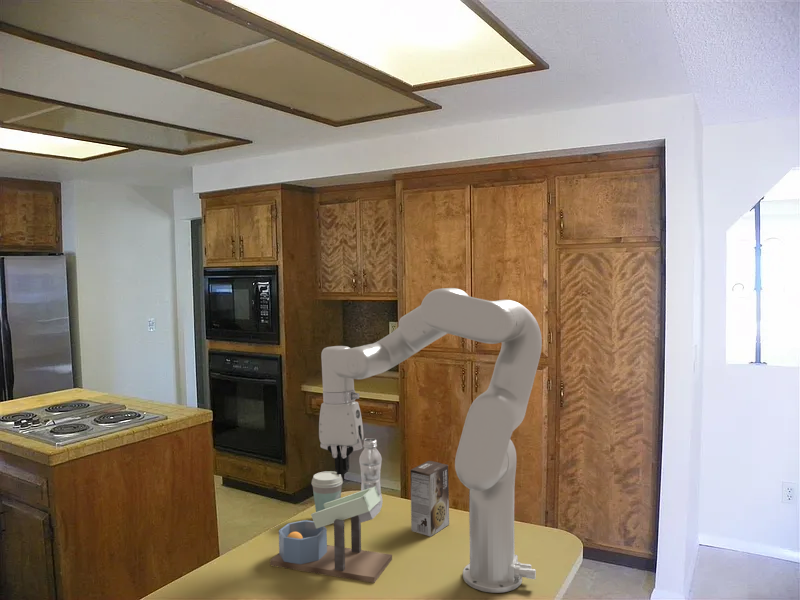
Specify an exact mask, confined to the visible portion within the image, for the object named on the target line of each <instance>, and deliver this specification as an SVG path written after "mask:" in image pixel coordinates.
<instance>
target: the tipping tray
mask: <svg viewBox="0 0 800 600" xmlns="http://www.w3.org/2000/svg"><path fill="white" fill-rule="evenodd" d="M380 500H381V499H380V496H379V494H378V491H377V489H376V486H374V487H372V488H369V489H366V490H363V491H361V490H360V491H358V492H355V493H354V492H353V493H352V494H348V495H346V496H343V497H342V496H341V498H339V499H336V500H333V501H330V502H327V503H325V504H323V505H324V507H325V509H324V510H321V511H318V512H316V511H315V512H312V513H311V514H310V515H311V519H312V521H314V524H315V527H316V529H317V528H320V527H323V526H325V527H326V526H329V525H332V524H334V521H335V520H336V519H338V520H344V521H345V520H347V519H351V517H354V516H357V515H358V517H359V519H360V522H361V523H364V522H368V521H370V520H373V519H374V518H376V516H377V515H378V514H379V513H380V512H382V510H381V509H380V507H379V505H378V502H379V501H380Z"/></svg>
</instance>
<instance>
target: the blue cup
mask: <svg viewBox="0 0 800 600" xmlns="http://www.w3.org/2000/svg"><path fill="white" fill-rule="evenodd" d="M327 531H328V529H327V527H326V526H323V527H320V528H317V529H316V527H315V524H314V521H313V520H309V519H308V520H307V519H306V520H304V519H303V520H299V521H294V522H288V523H287V524H286V525H284V526H283V527H281V528H280V529H279V530H278V553H279V554H280V556H281V558H282V559H283V561H284V562H289V563H295V564H304V563H309V562H313V561H318V560H319V559H321V558H322V557H323V556H324V555H325V554H326V553H327V545H328V537H327V536H328V534H327V533H328V532H327ZM291 532H299V533H300V534H301V535H302V537H303V538H302V539H298V538H291V537H287V536H288V535H289V534H290V533H291Z"/></svg>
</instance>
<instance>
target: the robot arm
mask: <svg viewBox="0 0 800 600" xmlns="http://www.w3.org/2000/svg"><path fill="white" fill-rule="evenodd" d="M447 334H448V335H452V336H457V337H460V338H464V339H468V340H470V341H471V340H472V341H474V342H479V343H483V344H490V345H493V344H494V345H495V344H500V343H501V346H500V347H501V348H500V351H499V353H498V356H497V359H496V360H495V364H494V369H493V372H492V376H491V378H490V382H489V384H488V387H487V389H486V390H485V391H484V392H482V393H481V394H479V395H478V396H477V397H476V398H475V399H474V400H473V401H472V403H471V404H470V407H469V408H468V411H467V414H466V417H465V420H464V423H463V424H464V425H463V428H462V432H461V435H460V439H459V442H458V447H457V450H456V453H455V460H454V470H455V473H456V476H457V478H458V479H459V481H460V483H462V485H463V486H464V487H466V488H467V489H469V496H468V497H469V499H468V500H469V503H468V505H469V507H468V508H469V511H468V512H469V513H468V515H469V517H468V518H469V519H468V521H469V563H468V564H467V565H465V567H463V570H462V579H463V580H464V582H465V583H466V584H467V585H468V586H469V587H471V588H473V589H474V590H477V591H480V592H484V593H492V594H493V593H494V594H498V593H507V592H510V591H514V590H515V589H517V588H519V587H520V586H521V584H522V582H523V578H526V579H530V580H536V576H537V570H536V569H535V568H532V564H530V563H521V561H518V560H519V559H518V555H517V554H515V487H516V486H515V483H516V474H517V471H516V470H517V462H518V461H517V450H516V447H515V444H514V442H513V440H511V437H512V435H513V432H514V431H515V430H516V429H517V428H518V427H519V426H520V425H521V424H522V422H523V420H524V419H525V417H526V412H527V408H528V405H529V400H530V397H531V394H532V389H533V386H534V382H535V379H536V373H537V369H538V366H539V363H540V358H541V353H542V346H543V341H542V340H543V338H542V331H541V329H540V325H539V323H538V321H537V319H536V317H535V315H534V314H532V312H531V311H530V310H529V309H528V308H526V306H524V305H523V304H521V303H519V302H517V301H515V300H512V299H499V300H488V299H483V298H477V297H474V296H473V297H472V296H470V295H468V293H467V292H466V291H464V290H462V289H460V288H457V287H446V288H445V287H444V288H443V287H442V288H436V289H433V290H431V291H430V292H429V293H427V294H426V295H425V296H424V297H423V299H422V301H421V304H420V305H418V306H417V307H416V308H414V309H412V310H411V311H409V312H408V313H406V314H405V315H403V316H401V317H400V318H399V321H398V327H397V328H395V329H394V330H393V331H392V332H391V333H389V334H387V335H386V336H384V337H382V338H381V339H379V340H378V341H375V342H373V343H368V344H364V345H361V346H355V347H349V346H346V345H334V346H327V347H324V348H323V349H322V351H321V355H320V358H321V376H322V397H323V399H322V401H323V402H322V403H320V404H321V405H320V410H319V421H318V438H319V442H320V445H319V446H320V448H321V449H323V450H326V451H329V453H331V457H332V458H334V468H335V470H336V471H335V472H337V475H339V474H341V476H343V475H346V473H348V472H349V469H350V460H349V459H350V456H351V454H352V453H353V452H356V451H360V450H362V449H363V448H364V445H363V443H362V441H364V426H363V419H362V417H363V416H362V412H361V408H360V405H359V404H360V403H359V402H358V401H356V400H358V399H360V393H359V392H356V389H355V380H364V379H368V378H371V377H373V376H376V375H377V376H378V375H380V374H383V373H385V372H387V371H389V370H390V369H392V368H394V367H396V366H397V365H399V364H401V363H402V362H405V360H408V359H409V358H411V357H412V356H414V355H415V354H417V353H418V352H420V351H421V350H423V349H424V348H426V347H427V346H429V345H431V344H432V343H434V342H436V341H437V340H439V339H441V338H442V337H444V336H446V335H447Z"/></svg>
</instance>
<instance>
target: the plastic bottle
mask: <svg viewBox="0 0 800 600" xmlns="http://www.w3.org/2000/svg"><path fill="white" fill-rule="evenodd" d="M377 443H378V441H377V439H376V438H373V437H371V438H364V439H363V450H362V451H361V453H360V455H359V457H358V458H359V459H358V460H359V468H360V476H361V477H360V478H361V481H360V482H361V487H360V491H363V490H366V489H369V488H372V487H374V486H376V489H377V491H378V494H379V496H380V499H381V500H380V501H379V502H378V505H379V507H380V510H381V509H382V507H383V502H384V501H383V496H382V495H383V494H382V490H381V488H382V487H381V472H382V471H381V468H382V462H383V458H382V455H381V453H380V451H379V450H378V449H377V448H378V444H377Z"/></svg>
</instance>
